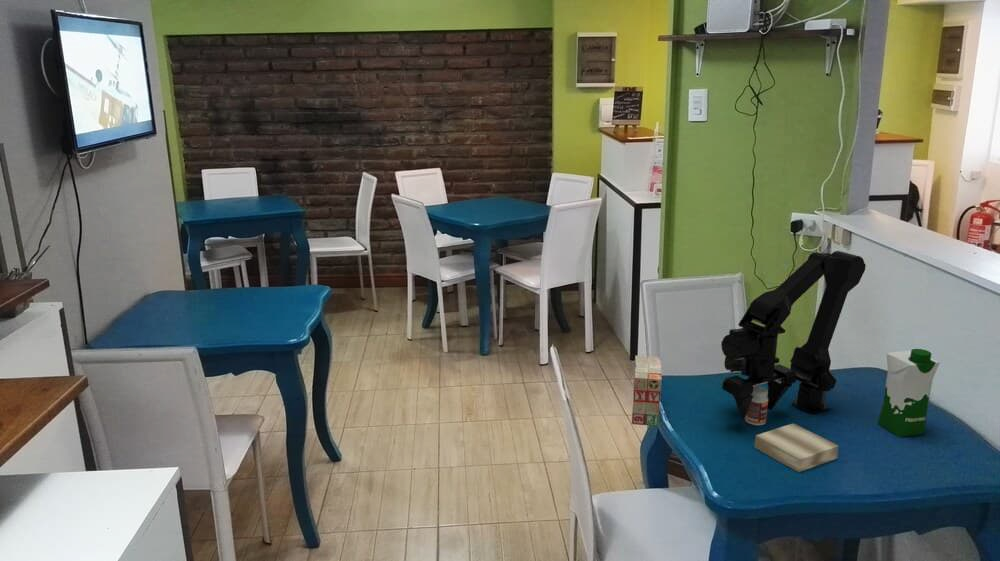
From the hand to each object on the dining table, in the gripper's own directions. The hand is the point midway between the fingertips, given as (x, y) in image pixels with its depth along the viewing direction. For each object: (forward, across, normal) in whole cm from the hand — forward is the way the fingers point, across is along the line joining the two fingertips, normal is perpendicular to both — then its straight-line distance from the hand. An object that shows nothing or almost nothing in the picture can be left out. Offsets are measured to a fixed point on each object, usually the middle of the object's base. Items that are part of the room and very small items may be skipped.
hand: (756, 413), depth 178 cm
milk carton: (+2, -27, +19) cm, 33 cm away
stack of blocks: (+2, +18, -19) cm, 26 cm away
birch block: (+2, +4, +15) cm, 16 cm away
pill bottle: (+2, 0, 0) cm, 2 cm away
